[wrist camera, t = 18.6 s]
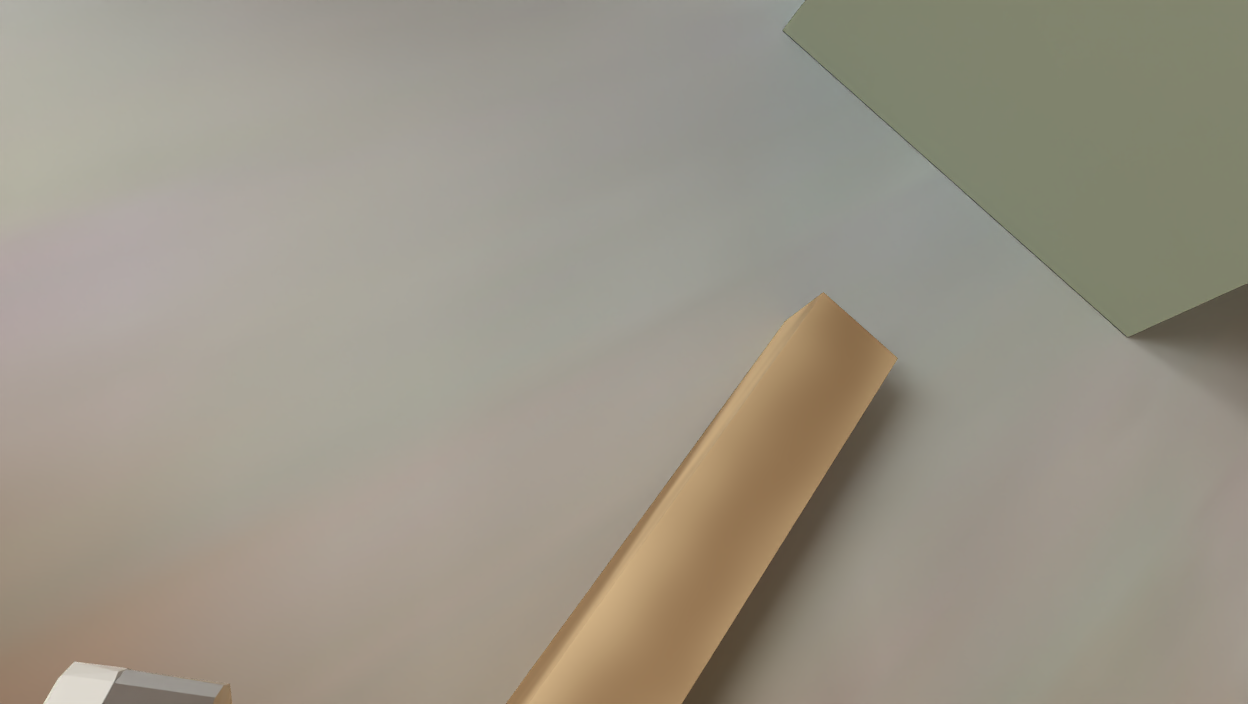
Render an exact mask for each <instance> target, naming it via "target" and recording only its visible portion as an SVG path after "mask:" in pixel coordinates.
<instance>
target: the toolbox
mask: <svg viewBox="0 0 1248 704" xmlns="http://www.w3.org/2000/svg"><path fill="white" fill-rule="evenodd" d="M783 31H784V32H785V33H786V34H787V35H789V36H790V37H791V38H792V39H793V40H794V41H795V42H796V43H798V44H799V45H800V46H801V47H802V48H803V49H804V50H805V51H807V52H808V53H809V54H810V55H811V56H812V57H813V58H814V59H816V60H817V61H818V62H819V63H820V64H821V65H822V66H823V67H825V68H826V69H827V70H828V71H829V72H830V73H831V74H832V75H834V76H835V77H836V78H837V79H838V80H839V81H840V82H841V83H843V84H844V85H845V86H846V87H847V88H848V89H849V90H850V91H852V92H853V93H854V94H855V95H856V96H857V97H858V98H859V99H860V100H862V101H863V102H864V103H865V104H866V105H867V106H868V107H869V108H871V109H872V110H873V111H874V112H875V113H876V114H877V115H878V116H880V117H881V118H882V119H883V120H884V121H885V122H886V123H887V124H889V125H890V126H891V127H892V128H893V129H894V130H895V131H896V132H898V133H899V134H900V135H901V136H902V137H903V138H904V139H905V140H907V141H908V142H909V143H910V144H911V145H912V146H913V147H914V148H916V149H917V150H918V151H919V152H920V153H921V154H922V155H923V156H925V157H926V158H927V159H928V160H929V161H930V162H931V163H932V164H934V165H935V166H936V167H937V168H938V169H939V170H940V171H941V172H943V173H944V174H945V175H946V176H947V177H948V178H949V179H950V180H952V181H953V182H954V183H955V184H956V185H957V186H958V187H959V188H960V189H962V190H963V191H964V192H965V193H966V194H967V195H968V196H969V197H971V198H972V199H973V200H974V201H975V202H976V203H977V204H978V205H980V206H981V207H982V208H983V209H984V210H985V211H986V212H987V213H989V214H990V215H991V216H992V217H993V218H994V219H995V220H996V221H998V222H999V223H1000V224H1001V225H1002V226H1003V227H1004V228H1005V229H1007V230H1008V231H1009V232H1010V233H1011V234H1012V235H1013V236H1014V237H1016V238H1017V239H1018V240H1019V241H1020V242H1021V243H1022V244H1023V245H1025V246H1026V247H1027V248H1028V249H1029V250H1030V251H1031V252H1032V253H1034V254H1035V255H1036V256H1037V257H1038V258H1039V259H1040V260H1041V261H1043V262H1044V263H1045V264H1046V265H1047V266H1048V267H1049V268H1050V269H1052V270H1053V271H1054V272H1055V273H1056V274H1057V275H1058V276H1059V277H1060V278H1062V279H1063V280H1064V281H1065V282H1066V283H1067V284H1068V285H1069V286H1071V287H1072V288H1073V289H1074V290H1075V291H1076V292H1077V293H1078V294H1080V295H1081V296H1082V297H1083V298H1084V299H1085V300H1086V301H1087V302H1089V303H1090V304H1091V305H1092V306H1093V307H1094V308H1095V309H1096V310H1098V311H1099V312H1100V313H1101V314H1102V315H1103V316H1104V317H1105V318H1107V319H1108V320H1109V321H1110V322H1111V323H1112V324H1113V325H1114V326H1116V327H1117V328H1118V329H1119V330H1120V331H1121V332H1122V333H1123V334H1125V335H1126V336H1127V337H1130V336H1132V335H1134V334H1136V333H1138V332H1141V331H1143V330H1145V329H1147V328H1150V327H1152V326H1154V325H1156V324H1158V323H1161V322H1163V321H1165V320H1167V319H1170V318H1172V317H1174V316H1176V315H1178V314H1181V313H1183V312H1185V311H1187V310H1189V309H1192V308H1194V307H1196V306H1198V305H1201V304H1203V303H1205V302H1207V301H1209V300H1212V299H1214V298H1216V297H1218V296H1221V295H1223V294H1225V293H1227V292H1229V291H1232V290H1234V289H1236V288H1238V287H1241V286H1243V285H1245V284H1247V283H1248V0H805V2H804V3H803V4H802V5H801V7H800V8H799V9H798V11H797V12H796V13H795V15H794V16H793V17H792V19H791V20H790V21H789V23H788V24H787V25H786V26H785V28H784V29H783Z"/></svg>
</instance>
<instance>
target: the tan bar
mask: <svg viewBox="0 0 1248 704" xmlns="http://www.w3.org/2000/svg"><path fill="white" fill-rule="evenodd" d="M897 359H898V358H897V357H896V356H895V355H894V354H892V353H891V352H890V351H889V350H888V349H887V348H886V347H885V346H883V345H882V344H881V343H880V342H879V341H878V340H877V339H876V338H874V337H873V336H872V335H871V334H870V333H869V332H868V331H866V330H865V329H864V328H863V327H862V326H861V325H860V324H859V323H857V322H856V321H855V320H854V319H853V318H852V317H851V316H850V315H848V314H847V313H846V312H845V311H844V310H843V309H842V308H841V307H839V306H838V305H837V304H836V303H835V302H834V301H833V300H832V299H830V298H829V297H828V296H827V295H826V294H825V293H824V292H823V293H822V294H820V295H819V296H818V297H816V298H815V299H814V300H812V301H811V302H810V303H808V304H807V305H806V306H805V307H803V308H802V309H801V310H799V311H798V312H797V313H795V314H794V315H793V316H791V317H790V318H789V319H787V320H786V321H785V322H784V324H783V325H782V326H781V328H780V329H779V330H778V332H777V333H776V335H775V336H774V337H773V339H772V340H771V341H770V343H769V344H768V346H767V347H766V348H765V350H764V351H763V352H762V354H761V355H760V357H759V358H758V359H757V361H756V362H755V363H754V365H753V366H752V367H751V369H750V370H749V372H748V373H747V374H746V376H745V377H744V378H743V380H742V381H741V383H740V384H739V385H738V387H737V388H736V389H735V391H734V392H733V393H732V395H731V396H730V398H729V399H728V400H727V402H726V403H725V404H724V406H723V407H722V409H721V410H720V411H719V413H718V414H717V415H716V417H715V418H714V419H713V421H712V422H711V424H710V425H709V426H708V428H707V429H706V430H705V432H704V433H703V435H702V436H701V437H700V439H699V440H698V441H697V443H696V444H695V446H694V447H693V448H692V450H691V451H690V452H689V454H688V455H687V456H686V458H685V459H684V461H683V462H682V463H681V465H680V466H679V467H678V469H677V470H676V472H675V473H674V474H673V476H672V477H671V478H670V480H669V481H668V482H667V484H666V485H665V487H664V488H663V489H662V491H661V492H660V493H659V495H658V496H657V498H656V499H655V500H654V502H653V503H652V504H651V506H650V507H649V509H648V510H647V511H646V513H645V514H644V515H643V517H642V518H641V519H640V521H639V522H638V524H637V525H636V526H635V528H634V529H633V530H632V532H631V533H630V535H629V536H628V537H627V539H626V540H625V541H624V543H623V544H622V545H621V547H620V548H619V550H618V551H617V552H616V554H615V555H614V556H613V558H612V559H611V561H610V562H609V563H608V565H607V566H606V567H605V569H604V570H603V572H602V573H601V574H600V576H599V577H598V578H597V580H596V581H595V582H594V584H593V585H592V587H591V588H590V589H589V591H588V592H587V593H586V595H585V596H584V598H583V599H582V600H581V602H580V603H579V604H578V606H577V607H576V608H575V610H574V611H573V613H572V614H571V615H570V617H569V618H568V619H567V621H566V622H565V624H564V625H563V626H562V628H561V629H560V630H559V632H558V633H557V635H556V636H555V637H554V639H553V640H552V641H551V643H550V644H549V645H548V647H547V648H546V650H545V651H544V652H543V654H542V655H541V656H540V658H539V659H538V661H537V662H536V663H535V665H534V666H533V667H532V669H531V670H530V671H529V673H528V674H527V676H526V677H525V678H524V680H523V681H522V682H521V684H520V685H519V687H518V688H517V689H516V691H515V692H514V693H513V695H512V696H511V698H510V699H509V700H508V702H507V703H506V704H682V702H683V701H684V699H685V698H686V696H687V694H688V693H689V691H690V690H691V688H692V686H693V685H694V683H695V682H696V680H697V678H698V677H699V675H700V674H701V672H702V670H703V669H704V667H705V666H706V664H707V662H708V661H709V659H710V658H711V656H712V655H713V653H714V651H715V650H716V648H717V647H718V645H719V643H720V642H721V640H722V639H723V637H724V635H725V634H726V632H727V631H728V629H729V627H730V626H731V624H732V623H733V621H734V619H735V618H736V616H737V615H738V613H739V611H740V610H741V608H742V607H743V605H744V603H745V602H746V600H747V599H748V597H749V595H750V594H751V592H752V591H753V589H754V587H755V586H756V584H757V583H758V581H759V579H760V578H761V576H762V575H763V573H764V571H765V570H766V568H767V567H768V565H769V563H770V562H771V560H772V559H773V557H774V555H775V554H776V552H777V551H778V549H779V547H780V546H781V544H782V543H783V541H784V539H785V538H786V536H787V535H788V533H789V531H790V530H791V528H792V527H793V525H794V523H795V522H796V520H797V519H798V517H799V515H800V514H801V512H802V511H803V509H804V507H805V506H806V504H807V503H808V501H809V500H810V498H811V496H812V495H813V493H814V492H815V490H816V488H817V487H818V485H819V484H820V482H821V480H822V479H823V477H824V476H825V474H826V472H827V471H828V469H829V468H830V466H831V464H832V463H833V461H834V460H835V458H836V456H837V455H838V453H839V452H840V450H841V448H842V447H843V445H844V444H845V442H846V440H847V439H848V437H849V436H850V434H851V432H852V431H853V429H854V428H855V426H856V424H857V423H858V421H859V420H860V418H861V416H862V415H863V413H864V412H865V410H866V408H867V407H868V405H869V404H870V402H871V400H872V399H873V397H874V396H875V394H876V392H877V391H878V389H879V388H880V386H881V384H882V383H883V381H884V380H885V378H886V376H887V375H888V373H889V372H890V370H891V368H892V367H893V365H894V364H895V362H896V360H897Z"/></svg>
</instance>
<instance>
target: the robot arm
mask: <svg viewBox="0 0 1248 704" xmlns="http://www.w3.org/2000/svg"><path fill="white" fill-rule="evenodd" d="M43 704H232V698H231V689H230V684H229V683H222V682H215V681H207V680H200V679H193V678H186V677H179V676H171V675H164V674H157V673H150V672H143V671H135V670H131V669H128V668H121V667H113V666H105V665H97V664H90V663H82V662H74V663H73V664H72V665H71V666H70V667H69V668H68V669H67V670H66V671H65V672H64V673H63V674H62V675H61V676H60V677H59V678H58V680H57V681H56V683H55V685H54V687H53V688H52V690H51V692H50V693H49V695H48V697H47V698H46V700H45V702H44V703H43Z"/></svg>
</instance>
